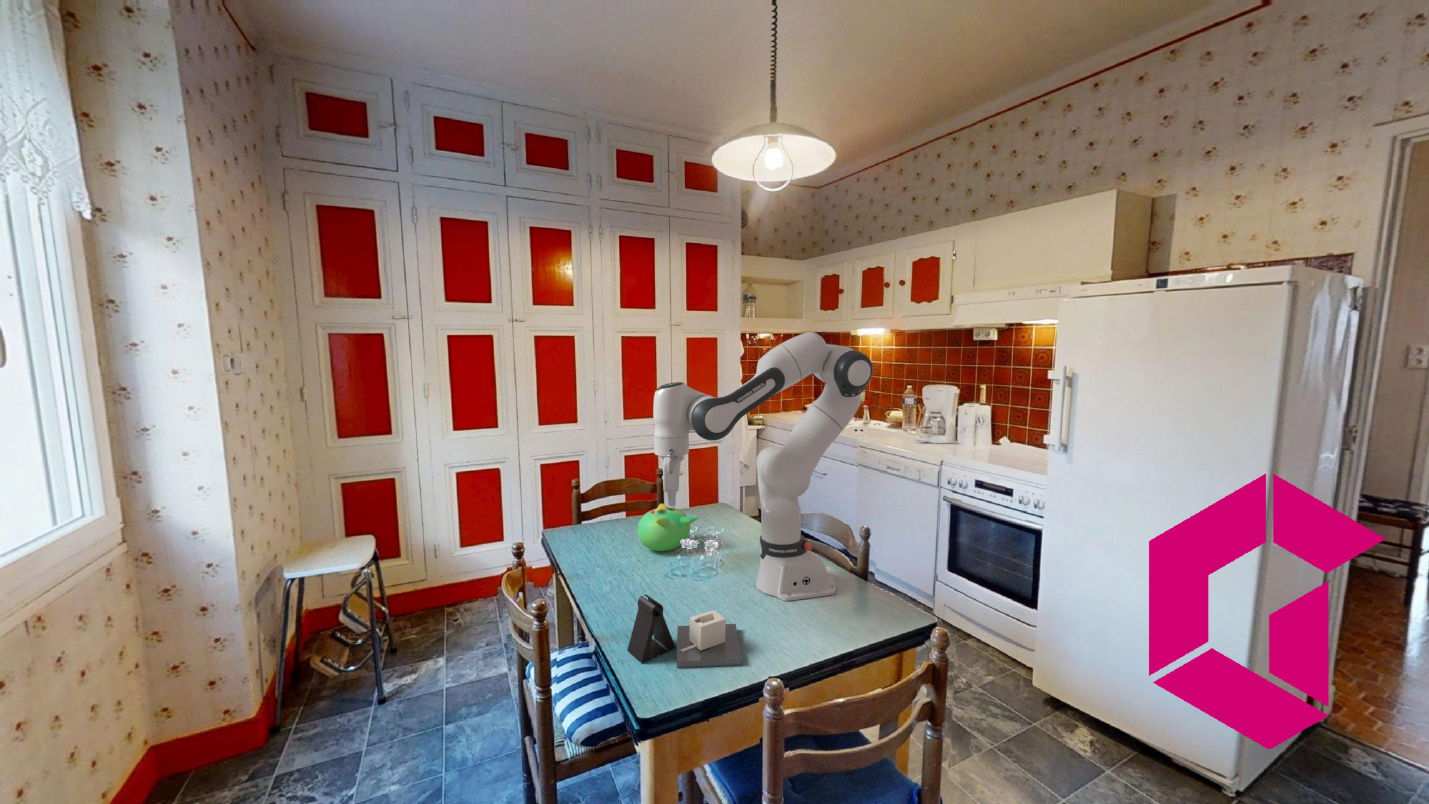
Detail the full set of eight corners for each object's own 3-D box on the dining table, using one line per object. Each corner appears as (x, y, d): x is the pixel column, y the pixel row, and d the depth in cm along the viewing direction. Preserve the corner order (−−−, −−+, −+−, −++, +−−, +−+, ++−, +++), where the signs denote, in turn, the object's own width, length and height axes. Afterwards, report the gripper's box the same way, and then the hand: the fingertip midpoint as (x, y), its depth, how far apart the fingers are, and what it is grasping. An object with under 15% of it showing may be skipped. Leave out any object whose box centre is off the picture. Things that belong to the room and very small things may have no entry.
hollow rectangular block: (713, 632, 121) (714, 608, 121) (725, 641, 117) (725, 617, 117) (689, 640, 118) (689, 616, 117) (700, 650, 114) (700, 625, 113)
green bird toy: (675, 535, 187) (674, 496, 185) (701, 550, 173) (700, 507, 172) (630, 547, 176) (628, 505, 175) (654, 564, 163) (652, 518, 161)
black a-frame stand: (660, 636, 122) (659, 588, 121) (675, 648, 118) (674, 598, 116) (627, 651, 117) (625, 601, 115) (641, 664, 112) (639, 611, 111)
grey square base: (735, 629, 125) (735, 605, 124) (741, 665, 111) (741, 638, 111) (677, 631, 124) (677, 607, 124) (676, 668, 111) (676, 640, 110)
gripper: (683, 455, 121) (684, 512, 123) (684, 439, 142) (684, 488, 143) (656, 455, 121) (658, 512, 122) (660, 439, 141) (661, 488, 143)
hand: (672, 499), depth 133 cm, fingers open, 8 cm apart
